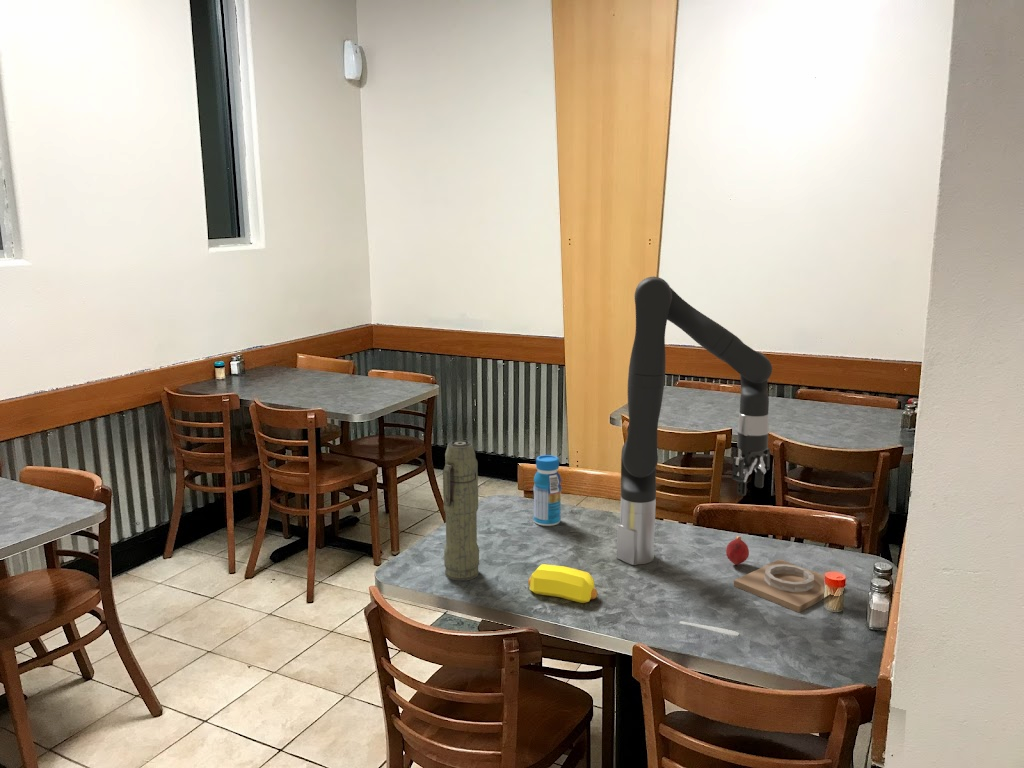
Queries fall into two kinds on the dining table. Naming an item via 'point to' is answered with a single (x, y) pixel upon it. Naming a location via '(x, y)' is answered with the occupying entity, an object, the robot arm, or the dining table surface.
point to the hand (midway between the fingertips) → (750, 491)
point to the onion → (737, 551)
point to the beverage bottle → (547, 491)
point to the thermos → (461, 511)
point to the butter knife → (713, 628)
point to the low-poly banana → (563, 583)
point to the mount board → (779, 595)
